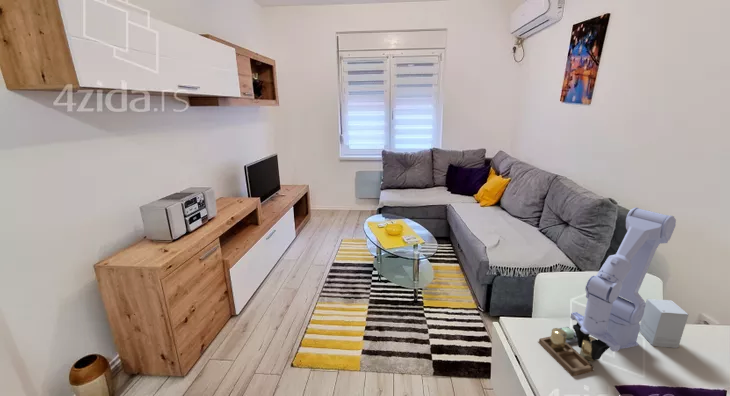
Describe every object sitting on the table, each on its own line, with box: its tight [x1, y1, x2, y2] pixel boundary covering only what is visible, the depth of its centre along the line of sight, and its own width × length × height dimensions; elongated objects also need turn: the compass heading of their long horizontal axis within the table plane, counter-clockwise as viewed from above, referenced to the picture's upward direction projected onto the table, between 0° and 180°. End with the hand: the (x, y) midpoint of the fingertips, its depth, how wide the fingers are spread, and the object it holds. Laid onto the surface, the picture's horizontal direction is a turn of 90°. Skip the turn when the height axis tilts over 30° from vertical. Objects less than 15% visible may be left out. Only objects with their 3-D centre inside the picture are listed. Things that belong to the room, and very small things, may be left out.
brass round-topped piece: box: [549, 327, 567, 352], centre depth 99 cm, size 4×4×6 cm
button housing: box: [559, 326, 578, 345], centre depth 105 cm, size 6×6×2 cm
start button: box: [561, 326, 575, 340], centre depth 104 cm, size 4×4×2 cm
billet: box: [579, 335, 597, 363], centre depth 96 cm, size 4×4×6 cm
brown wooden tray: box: [537, 335, 595, 377], centre depth 97 cm, size 8×14×2 cm, turn 12°
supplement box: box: [639, 298, 689, 349], centre depth 101 cm, size 7×7×13 cm
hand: (588, 352), depth 96 cm, fingers open, 4 cm apart
